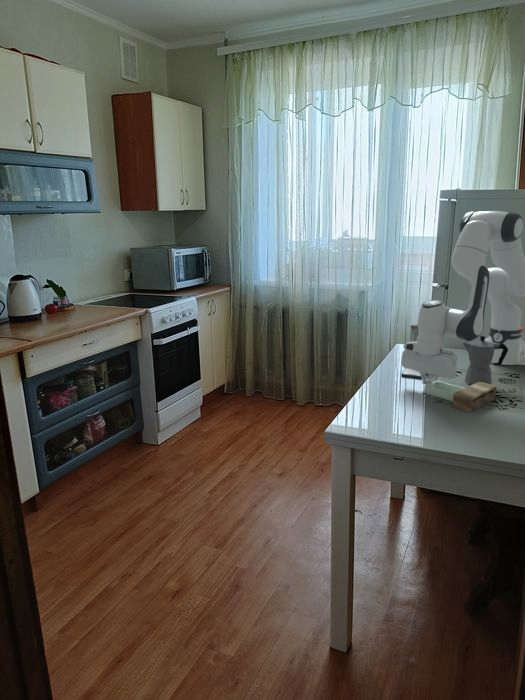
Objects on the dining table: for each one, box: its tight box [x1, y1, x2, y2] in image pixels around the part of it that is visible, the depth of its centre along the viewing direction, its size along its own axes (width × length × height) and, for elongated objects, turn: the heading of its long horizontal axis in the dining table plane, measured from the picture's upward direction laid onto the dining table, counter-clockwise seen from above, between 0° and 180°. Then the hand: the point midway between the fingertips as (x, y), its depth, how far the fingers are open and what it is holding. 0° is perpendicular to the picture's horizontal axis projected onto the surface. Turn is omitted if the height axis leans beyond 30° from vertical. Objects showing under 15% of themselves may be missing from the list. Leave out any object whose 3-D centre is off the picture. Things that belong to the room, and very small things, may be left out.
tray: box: [423, 380, 465, 403], centre depth 176 cm, size 8×16×3 cm, turn 41°
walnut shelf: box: [452, 382, 497, 413], centre depth 170 cm, size 17×6×5 cm, turn 131°
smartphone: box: [400, 368, 428, 380], centre depth 203 cm, size 9×2×16 cm
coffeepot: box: [462, 335, 508, 386], centre depth 187 cm, size 15×9×18 cm, turn 66°
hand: (427, 384), depth 183 cm, fingers closed
